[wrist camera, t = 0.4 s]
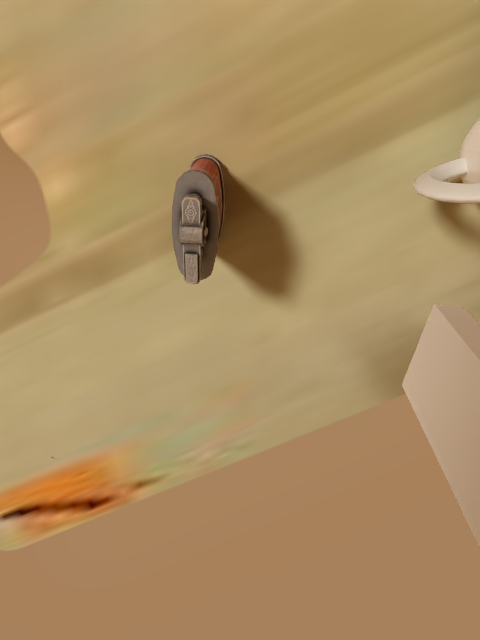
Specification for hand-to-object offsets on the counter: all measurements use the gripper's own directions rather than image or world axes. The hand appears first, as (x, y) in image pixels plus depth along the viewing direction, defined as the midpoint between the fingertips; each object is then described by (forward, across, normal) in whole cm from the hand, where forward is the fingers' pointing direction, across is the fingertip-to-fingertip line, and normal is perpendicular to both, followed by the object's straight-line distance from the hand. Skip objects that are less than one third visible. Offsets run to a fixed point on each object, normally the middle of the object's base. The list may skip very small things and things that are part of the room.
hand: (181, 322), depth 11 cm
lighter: (+26, -2, -4) cm, 27 cm away
